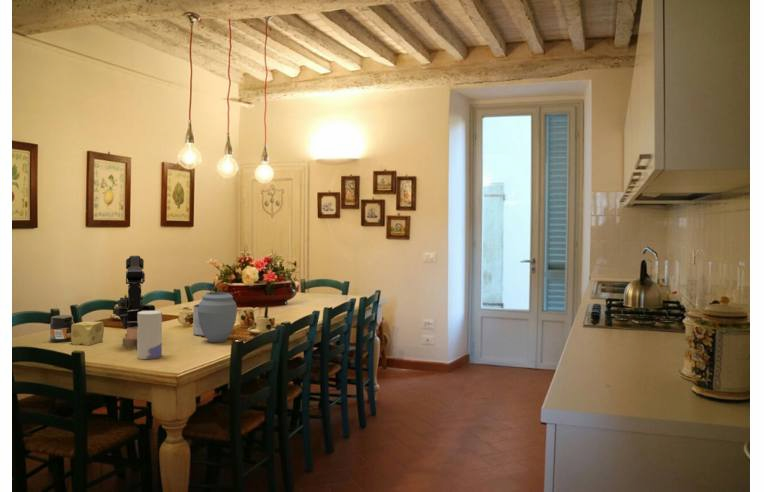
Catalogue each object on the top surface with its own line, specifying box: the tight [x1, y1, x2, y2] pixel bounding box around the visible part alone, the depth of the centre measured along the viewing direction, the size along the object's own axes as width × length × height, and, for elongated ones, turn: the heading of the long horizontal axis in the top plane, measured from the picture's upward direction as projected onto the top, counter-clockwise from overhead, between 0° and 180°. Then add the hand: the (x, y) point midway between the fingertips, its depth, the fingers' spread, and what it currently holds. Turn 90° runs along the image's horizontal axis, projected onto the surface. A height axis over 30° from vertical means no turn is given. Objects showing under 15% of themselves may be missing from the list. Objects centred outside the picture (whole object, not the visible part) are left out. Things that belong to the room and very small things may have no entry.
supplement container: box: [49, 314, 75, 343], centre depth 282 cm, size 10×10×12 cm
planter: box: [192, 303, 205, 337], centre depth 306 cm, size 16×16×16 cm
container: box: [136, 310, 163, 360], centre depth 252 cm, size 10×10×20 cm
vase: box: [197, 291, 238, 343], centre depth 288 cm, size 20×20×24 cm
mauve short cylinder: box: [122, 337, 137, 350], centre depth 273 cm, size 8×8×4 cm
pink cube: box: [126, 327, 137, 340], centre depth 273 cm, size 5×5×5 cm
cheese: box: [70, 320, 105, 346], centre depth 278 cm, size 10×11×10 cm
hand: (134, 327), depth 272 cm, fingers open, 9 cm apart
